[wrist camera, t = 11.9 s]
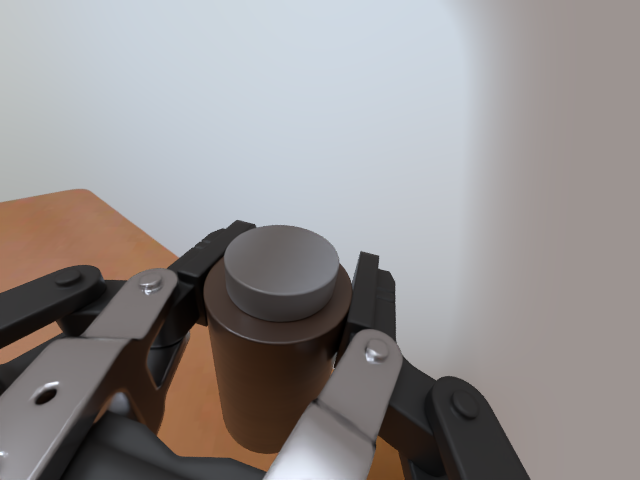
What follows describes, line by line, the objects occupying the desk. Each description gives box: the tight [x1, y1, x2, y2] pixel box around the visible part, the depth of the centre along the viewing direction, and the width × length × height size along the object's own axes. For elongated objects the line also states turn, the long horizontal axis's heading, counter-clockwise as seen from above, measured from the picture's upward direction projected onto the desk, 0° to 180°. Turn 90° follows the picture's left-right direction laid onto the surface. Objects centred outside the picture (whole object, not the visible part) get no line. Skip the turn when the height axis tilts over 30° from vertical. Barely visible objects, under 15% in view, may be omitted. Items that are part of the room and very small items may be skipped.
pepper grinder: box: [203, 225, 353, 454], centre depth 9 cm, size 4×4×8 cm
